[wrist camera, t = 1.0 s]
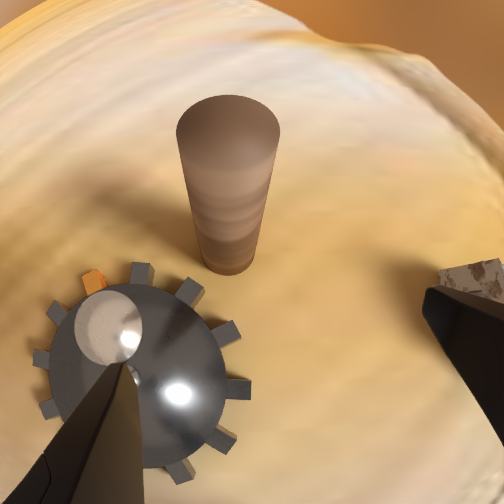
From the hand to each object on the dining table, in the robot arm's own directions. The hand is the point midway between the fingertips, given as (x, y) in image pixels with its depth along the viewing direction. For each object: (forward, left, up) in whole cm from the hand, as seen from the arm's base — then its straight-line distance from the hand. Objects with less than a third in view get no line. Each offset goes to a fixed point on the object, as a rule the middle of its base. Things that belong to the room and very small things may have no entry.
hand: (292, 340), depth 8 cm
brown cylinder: (+8, +2, -14) cm, 16 cm away
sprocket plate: (-2, +8, -14) cm, 16 cm away
